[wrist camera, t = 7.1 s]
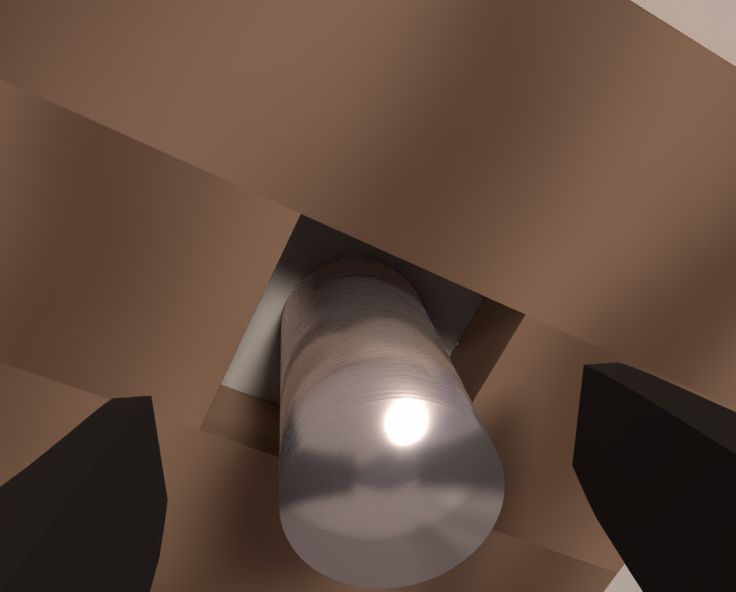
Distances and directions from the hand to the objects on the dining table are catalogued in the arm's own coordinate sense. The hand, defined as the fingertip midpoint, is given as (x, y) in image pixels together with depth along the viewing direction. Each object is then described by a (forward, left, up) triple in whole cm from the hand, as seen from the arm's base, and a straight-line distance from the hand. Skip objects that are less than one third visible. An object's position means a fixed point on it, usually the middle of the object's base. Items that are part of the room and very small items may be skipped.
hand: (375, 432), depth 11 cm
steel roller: (0, 0, -4) cm, 4 cm away
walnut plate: (0, 0, -4) cm, 4 cm away
